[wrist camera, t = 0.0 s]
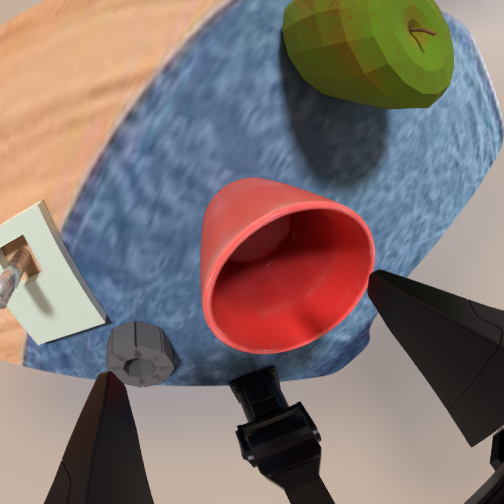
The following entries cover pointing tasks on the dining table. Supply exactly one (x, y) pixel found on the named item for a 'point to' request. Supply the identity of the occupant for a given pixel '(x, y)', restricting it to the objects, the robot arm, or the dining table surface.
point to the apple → (371, 50)
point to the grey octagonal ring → (139, 354)
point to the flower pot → (280, 265)
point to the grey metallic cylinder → (13, 275)
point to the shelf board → (48, 281)
